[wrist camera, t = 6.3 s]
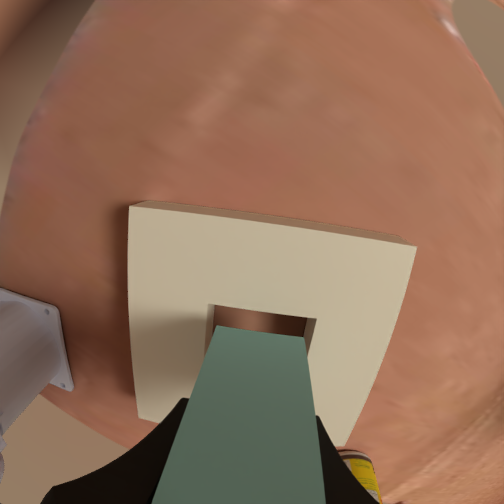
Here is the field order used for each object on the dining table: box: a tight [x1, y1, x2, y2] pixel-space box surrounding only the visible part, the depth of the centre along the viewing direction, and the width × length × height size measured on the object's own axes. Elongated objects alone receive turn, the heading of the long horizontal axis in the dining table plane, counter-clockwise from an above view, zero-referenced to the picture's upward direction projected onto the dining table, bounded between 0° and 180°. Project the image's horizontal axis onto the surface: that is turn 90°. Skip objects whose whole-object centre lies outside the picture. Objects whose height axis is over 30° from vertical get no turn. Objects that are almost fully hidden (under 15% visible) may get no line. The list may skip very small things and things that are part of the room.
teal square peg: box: [152, 325, 326, 504], centre depth 9 cm, size 4×4×10 cm
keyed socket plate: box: [128, 200, 417, 446], centre depth 17 cm, size 14×14×2 cm
